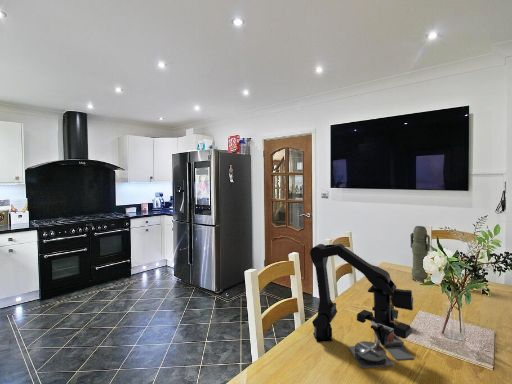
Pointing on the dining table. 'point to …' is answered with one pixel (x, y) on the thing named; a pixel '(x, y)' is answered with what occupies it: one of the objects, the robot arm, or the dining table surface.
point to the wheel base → (370, 364)
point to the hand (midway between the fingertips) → (383, 345)
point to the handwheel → (370, 350)
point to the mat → (400, 353)
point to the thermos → (419, 252)
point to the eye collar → (393, 342)
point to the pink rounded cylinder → (390, 336)
